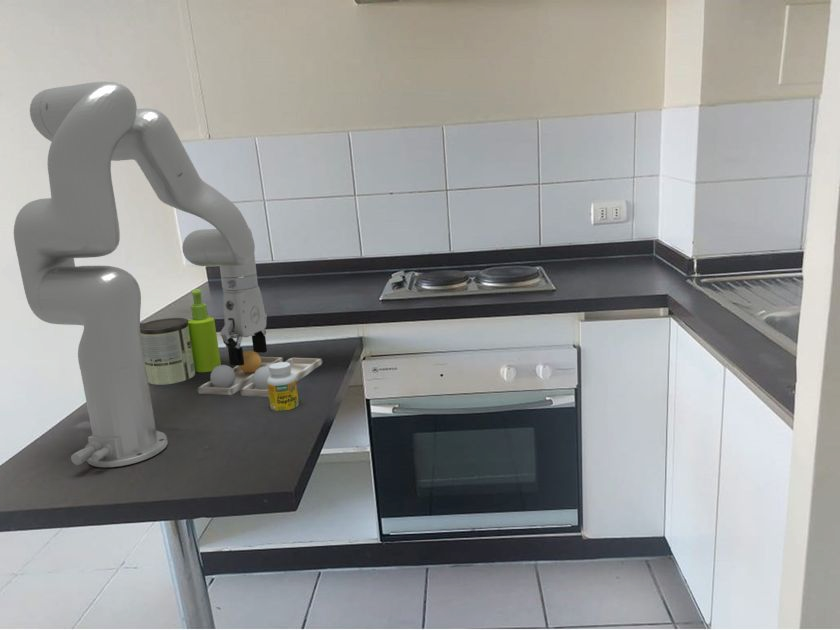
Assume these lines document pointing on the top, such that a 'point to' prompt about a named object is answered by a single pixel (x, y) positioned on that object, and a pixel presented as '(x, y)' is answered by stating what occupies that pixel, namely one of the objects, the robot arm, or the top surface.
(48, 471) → the top surface
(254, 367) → the orange ball
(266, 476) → the top surface
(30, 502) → the top surface
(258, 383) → the grey ball front
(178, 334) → the coffee can
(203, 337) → the soap dispenser
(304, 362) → the trough board
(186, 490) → the top surface
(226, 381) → the grey ball back
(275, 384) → the supplement bottle
